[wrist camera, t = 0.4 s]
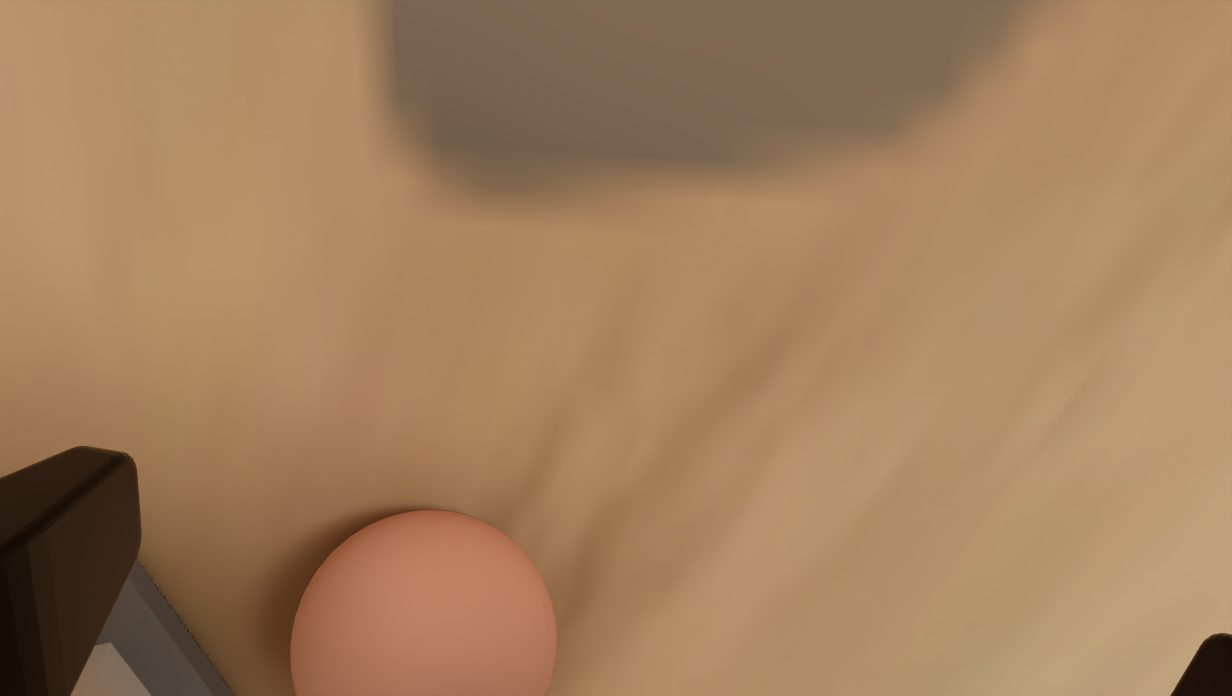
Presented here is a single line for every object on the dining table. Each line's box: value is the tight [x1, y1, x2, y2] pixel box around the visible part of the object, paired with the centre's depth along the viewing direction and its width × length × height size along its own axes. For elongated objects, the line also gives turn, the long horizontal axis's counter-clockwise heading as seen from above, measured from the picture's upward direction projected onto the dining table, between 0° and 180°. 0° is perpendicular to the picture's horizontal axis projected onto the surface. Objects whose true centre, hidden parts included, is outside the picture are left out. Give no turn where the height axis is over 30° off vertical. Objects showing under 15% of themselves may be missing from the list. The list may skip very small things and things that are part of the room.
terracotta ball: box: [290, 510, 557, 696], centre depth 23 cm, size 6×6×6 cm
